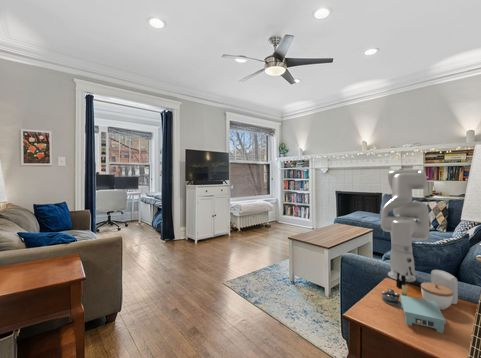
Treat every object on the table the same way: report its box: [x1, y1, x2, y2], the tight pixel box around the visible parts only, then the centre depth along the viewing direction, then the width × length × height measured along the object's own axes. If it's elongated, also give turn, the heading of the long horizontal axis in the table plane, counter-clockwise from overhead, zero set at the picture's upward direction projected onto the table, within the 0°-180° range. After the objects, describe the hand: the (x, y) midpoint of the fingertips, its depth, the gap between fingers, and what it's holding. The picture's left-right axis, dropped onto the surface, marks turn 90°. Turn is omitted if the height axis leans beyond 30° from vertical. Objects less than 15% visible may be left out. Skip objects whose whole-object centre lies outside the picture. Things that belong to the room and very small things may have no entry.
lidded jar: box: [420, 282, 453, 311], centre depth 102 cm, size 11×11×9 cm
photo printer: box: [430, 269, 459, 305], centre depth 108 cm, size 10×4×12 cm, turn 9°
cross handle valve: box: [380, 284, 408, 303], centre depth 106 cm, size 10×7×7 cm
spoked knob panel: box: [381, 294, 447, 334], centre depth 97 cm, size 22×18×5 cm
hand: (401, 288), depth 107 cm, fingers closed
